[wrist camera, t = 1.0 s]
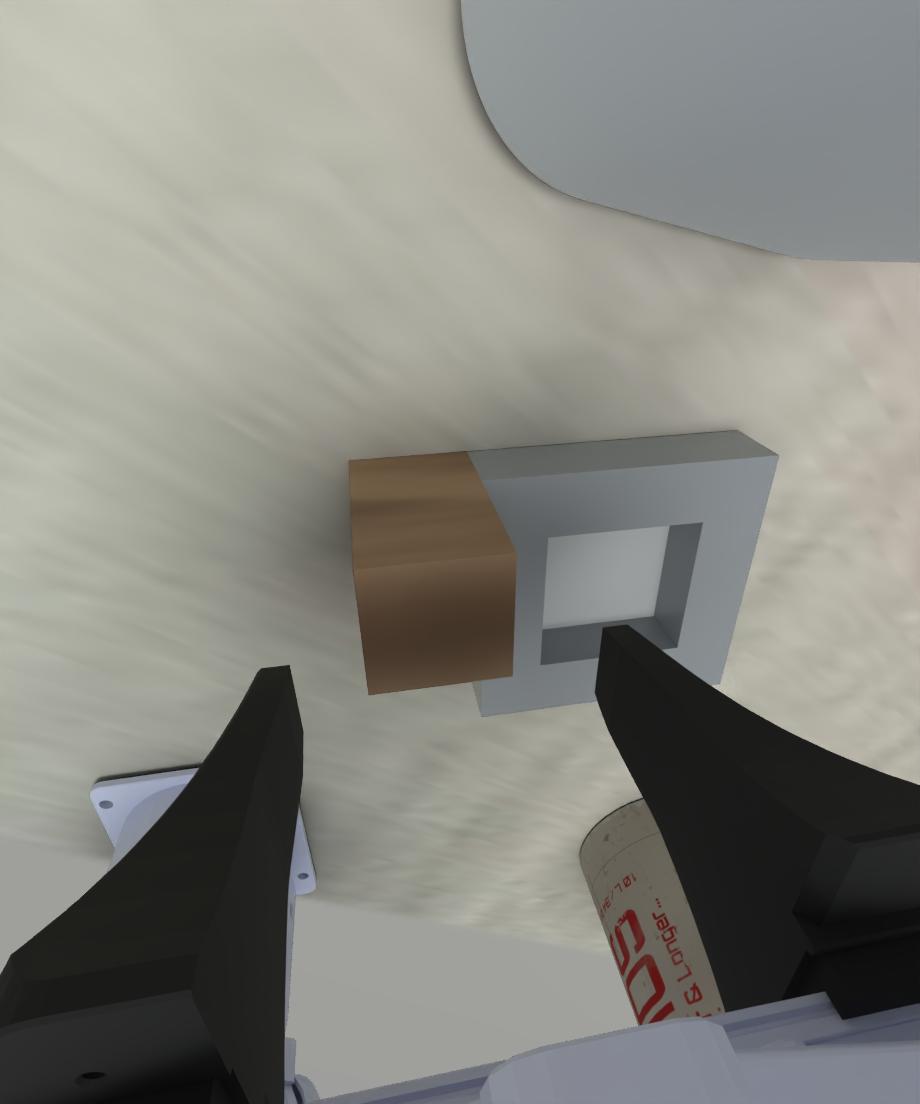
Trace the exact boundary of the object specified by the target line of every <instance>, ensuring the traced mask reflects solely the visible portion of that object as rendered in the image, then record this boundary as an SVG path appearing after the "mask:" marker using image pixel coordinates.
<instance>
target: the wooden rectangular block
mask: <svg viewBox="0 0 920 1104" xmlns="http://www.w3.org/2000/svg"><path fill="white" fill-rule="evenodd" d="M349 478H350V505H351V533H352V561H353V575H354V583H355V591H356V599H357V607H358V615H359V623H360V631H361V639H362V647H363V655H364V663H365V671H366V679H367V687H368V695H375V694H382V693H390V692H398V691H405V690H413V689H421V688H428V687H436V686H444V685H451V684H459V683H466V682H474V681H482V680H489V679H497V678H505V677H512V676H513V657H514V627H515V598H516V569H517V552H516V550H515V548H514V546H513V544H512V542H511V540H510V538H509V536H508V534H507V532H506V530H505V528H504V526H503V523H502V521H501V519H500V517H499V515H498V513H497V511H496V509H495V507H494V505H493V503H492V501H491V499H490V497H489V495H488V493H487V491H486V489H485V487H484V485H483V483H482V481H481V479H480V477H479V475H478V473H477V471H476V469H475V467H474V465H473V463H472V461H471V459H470V457H469V455H468V453H467V451H463V452H450V453H437V454H425V455H412V456H399V457H387V458H374V459H361V460H349Z"/></svg>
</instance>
